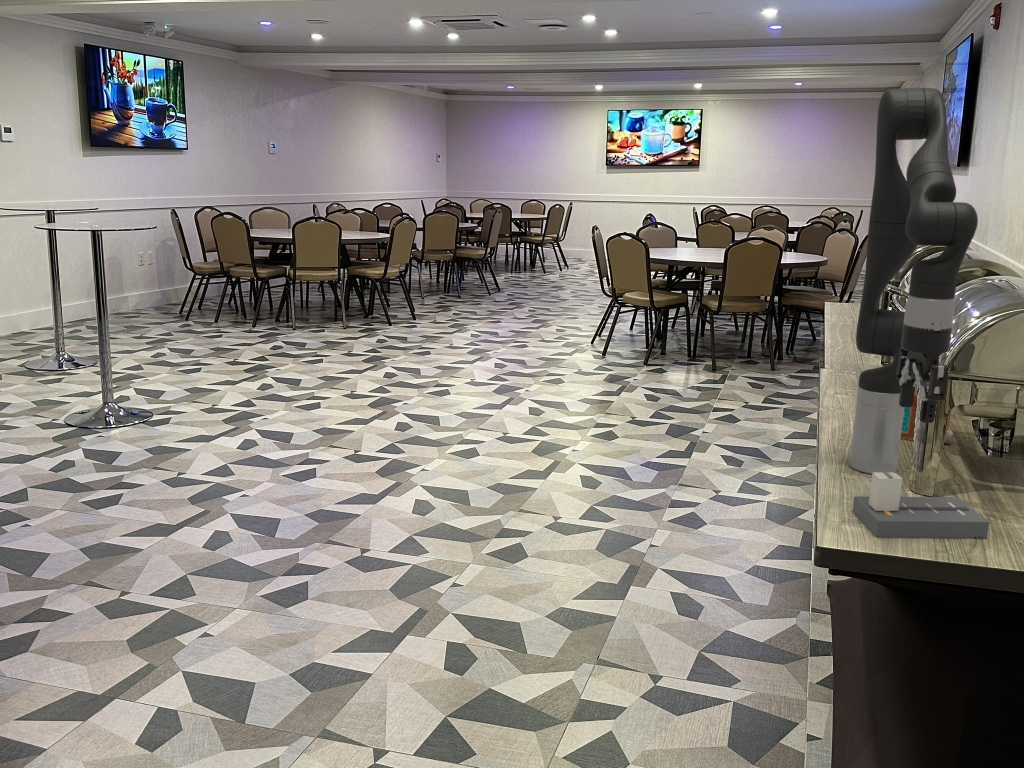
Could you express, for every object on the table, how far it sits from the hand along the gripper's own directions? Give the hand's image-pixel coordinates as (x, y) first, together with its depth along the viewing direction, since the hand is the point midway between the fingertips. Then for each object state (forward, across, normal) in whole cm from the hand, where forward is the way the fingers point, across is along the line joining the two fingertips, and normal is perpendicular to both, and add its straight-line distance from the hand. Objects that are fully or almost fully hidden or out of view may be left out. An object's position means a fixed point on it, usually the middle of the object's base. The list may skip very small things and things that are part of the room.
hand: (915, 414), depth 153 cm
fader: (+17, +2, -5) cm, 17 cm away
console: (+20, +2, +2) cm, 20 cm away
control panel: (+21, -47, +23) cm, 57 cm away
